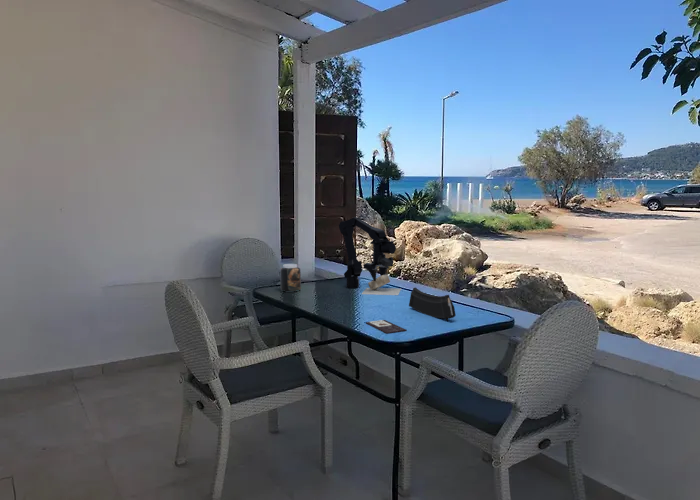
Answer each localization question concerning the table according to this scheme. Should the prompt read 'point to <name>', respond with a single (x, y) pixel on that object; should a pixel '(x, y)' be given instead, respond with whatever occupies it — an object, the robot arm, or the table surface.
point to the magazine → (432, 304)
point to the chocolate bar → (386, 326)
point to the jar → (290, 277)
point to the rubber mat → (382, 291)
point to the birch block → (379, 282)
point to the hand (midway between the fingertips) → (378, 280)
